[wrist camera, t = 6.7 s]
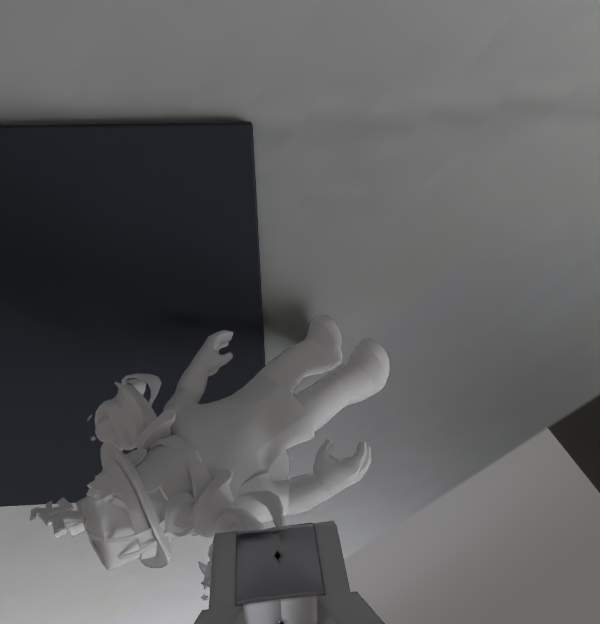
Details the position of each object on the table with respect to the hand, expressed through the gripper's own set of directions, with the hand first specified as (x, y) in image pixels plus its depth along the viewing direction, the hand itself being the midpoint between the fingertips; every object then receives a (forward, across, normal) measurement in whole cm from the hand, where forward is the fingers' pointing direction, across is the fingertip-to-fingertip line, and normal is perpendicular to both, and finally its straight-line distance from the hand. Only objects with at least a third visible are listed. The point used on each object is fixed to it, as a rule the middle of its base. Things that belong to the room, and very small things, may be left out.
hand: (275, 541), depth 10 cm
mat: (+11, +8, +1) cm, 13 cm away
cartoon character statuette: (+8, -4, +1) cm, 9 cm away
